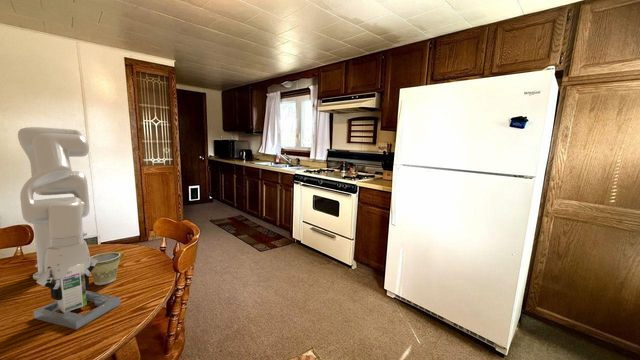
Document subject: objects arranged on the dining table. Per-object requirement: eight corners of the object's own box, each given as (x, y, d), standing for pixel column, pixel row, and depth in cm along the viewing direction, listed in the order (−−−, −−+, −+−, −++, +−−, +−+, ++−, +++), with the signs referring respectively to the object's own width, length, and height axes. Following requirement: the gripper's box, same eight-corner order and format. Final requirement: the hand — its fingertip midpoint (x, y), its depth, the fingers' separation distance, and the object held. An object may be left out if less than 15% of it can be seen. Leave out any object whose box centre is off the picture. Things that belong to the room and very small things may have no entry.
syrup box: (63, 314, 81) (60, 270, 79) (57, 307, 84) (54, 264, 82) (87, 305, 86) (84, 263, 84) (80, 299, 89) (77, 258, 87)
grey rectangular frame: (34, 318, 80) (33, 310, 80) (81, 296, 92) (81, 289, 92) (76, 329, 76) (76, 321, 75) (120, 304, 88) (120, 297, 88)
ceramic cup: (103, 289, 97) (101, 263, 96) (82, 285, 99) (80, 260, 98) (134, 273, 110) (133, 250, 109) (114, 270, 112) (113, 248, 111)
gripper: (88, 231, 92) (91, 278, 94) (22, 248, 75) (27, 306, 77) (105, 233, 90) (107, 282, 92) (40, 251, 73) (45, 310, 75)
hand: (71, 292), depth 84 cm, fingers closed on syrup box, 6 cm apart
